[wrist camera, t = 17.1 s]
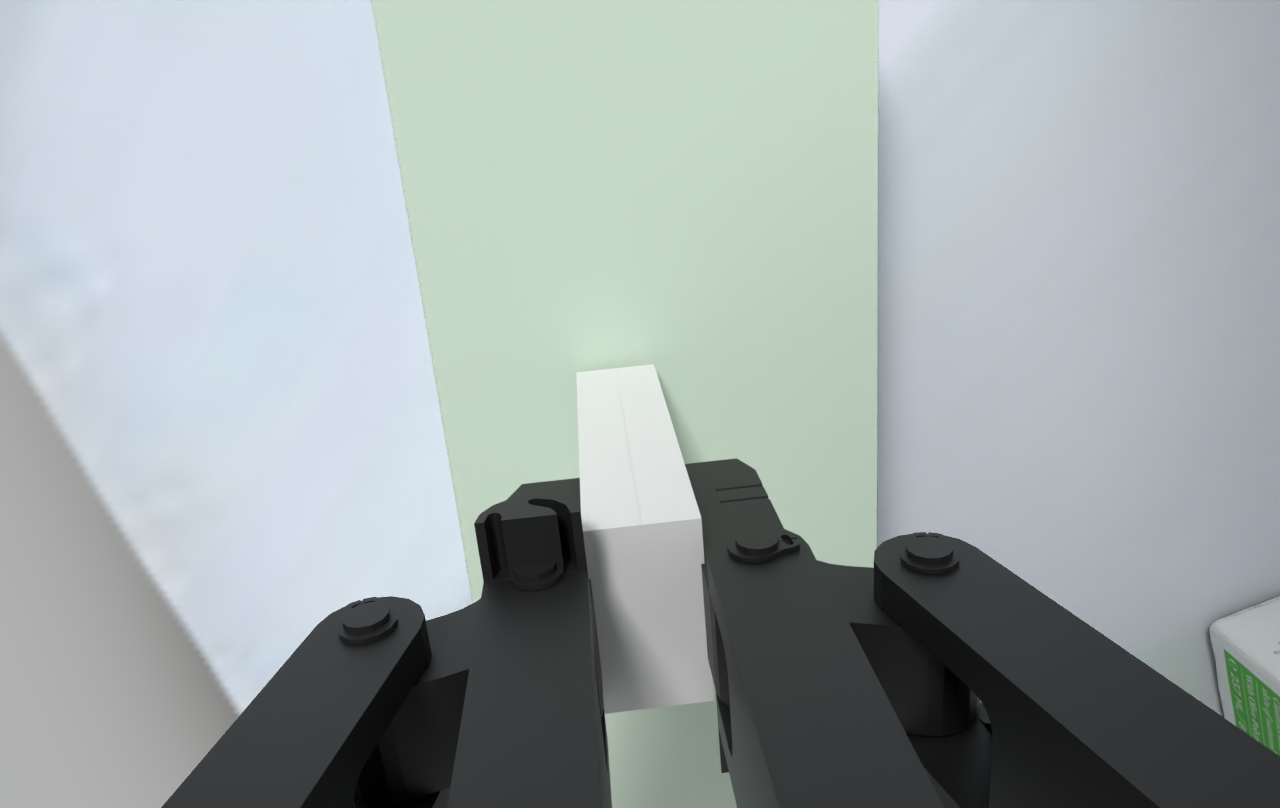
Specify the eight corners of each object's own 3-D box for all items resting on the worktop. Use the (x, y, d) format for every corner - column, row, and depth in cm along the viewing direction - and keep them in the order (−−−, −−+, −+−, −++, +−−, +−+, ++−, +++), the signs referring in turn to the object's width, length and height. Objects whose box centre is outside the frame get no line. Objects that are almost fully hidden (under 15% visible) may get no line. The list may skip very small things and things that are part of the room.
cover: (356, -127, 15) (348, -138, 14) (862, -162, 16) (878, -174, 15) (514, 824, 22) (514, 850, 21) (863, 768, 23) (875, 791, 22)
